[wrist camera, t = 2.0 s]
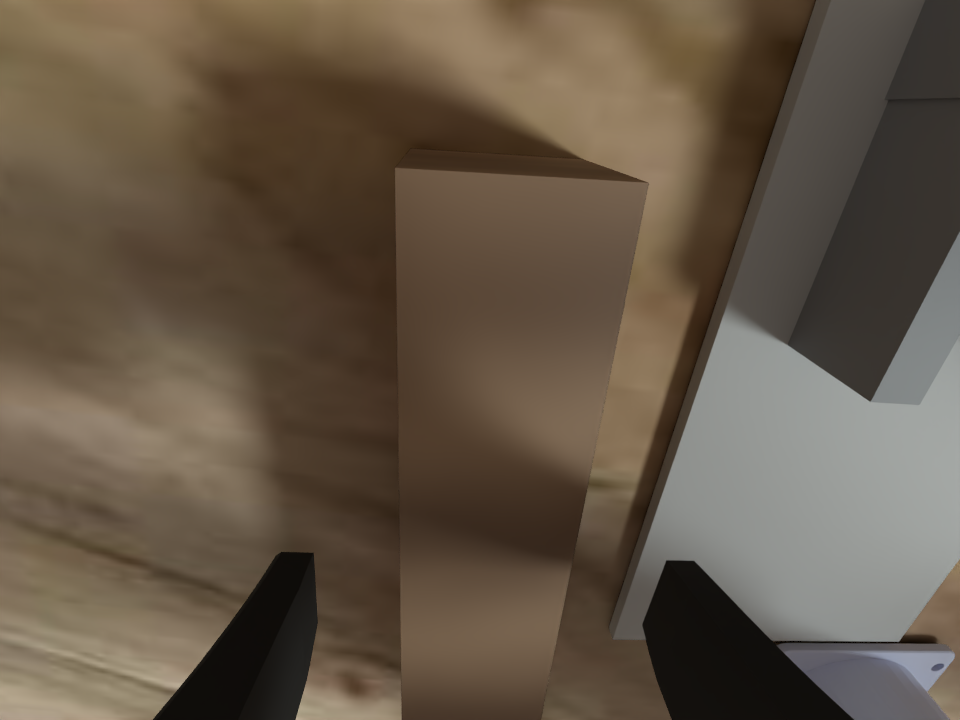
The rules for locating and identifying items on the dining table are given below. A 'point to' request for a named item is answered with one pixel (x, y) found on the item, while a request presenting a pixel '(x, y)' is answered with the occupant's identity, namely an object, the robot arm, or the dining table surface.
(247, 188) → the dining table surface
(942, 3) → the post bracket
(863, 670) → the robot arm
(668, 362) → the dining table surface
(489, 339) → the rail
